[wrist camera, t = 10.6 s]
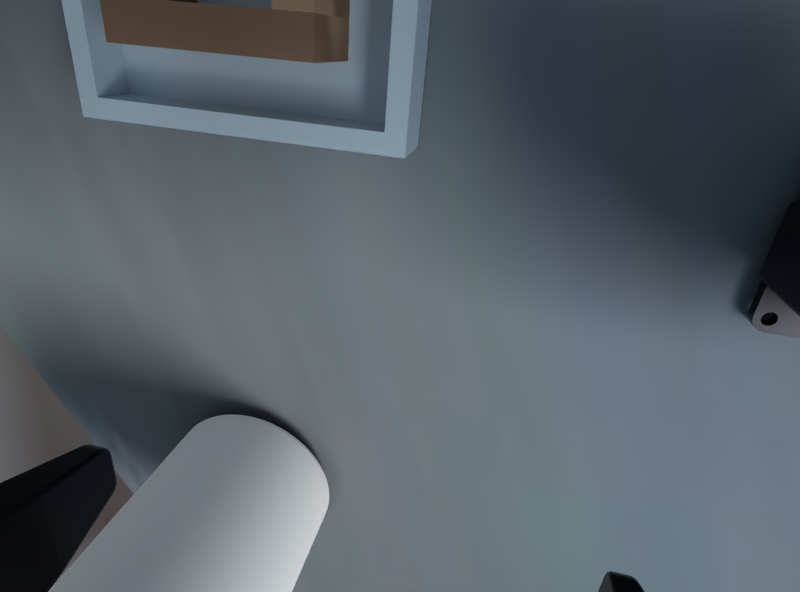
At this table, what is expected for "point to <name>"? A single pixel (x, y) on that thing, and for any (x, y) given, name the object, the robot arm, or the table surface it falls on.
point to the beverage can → (213, 517)
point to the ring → (234, 28)
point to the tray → (266, 82)
